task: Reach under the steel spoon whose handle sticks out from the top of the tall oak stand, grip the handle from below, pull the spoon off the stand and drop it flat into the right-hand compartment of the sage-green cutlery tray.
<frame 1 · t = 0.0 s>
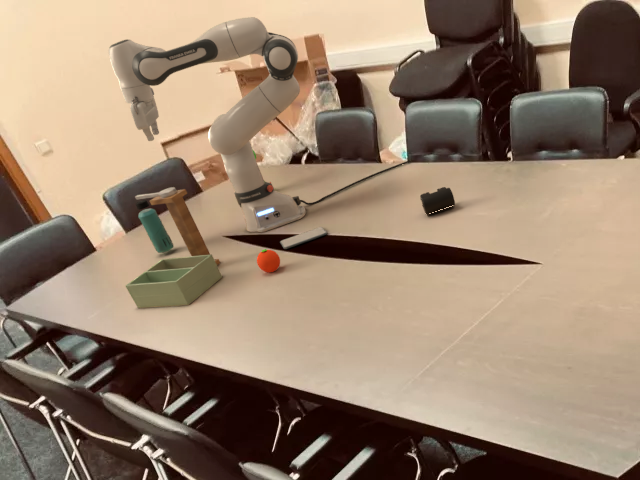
hand: (154, 137, 243), 39 cm above the table, tool pointing down, fingers open, 8 cm apart
oak stand: (203, 268, 240), on the table
smartphone: (304, 239, 241), on the table
plastic bottle: (259, 197, 299), on the table
spoon: (156, 196, 227), point 26 cm above the table, touching oak stand
beverage bottle: (167, 253, 263), on the table
cutlery tray: (180, 292, 226), on the table
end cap: (440, 211, 235), on the table
clementine: (273, 271, 224), on the table
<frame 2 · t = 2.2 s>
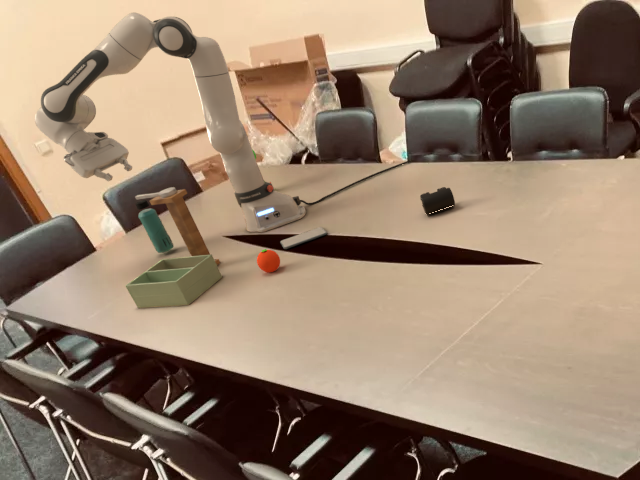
hand: (120, 174, 235), 33 cm above the table, tool tilted 40°, fingers open, 8 cm apart
nothing on the table moved.
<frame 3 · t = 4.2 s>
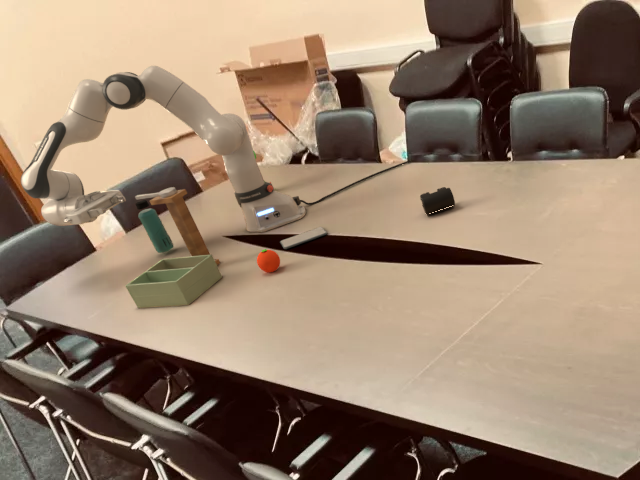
hand: (113, 204, 235), 25 cm above the table, tool horizontal, fingers open, 8 cm apart
nothing on the table moved.
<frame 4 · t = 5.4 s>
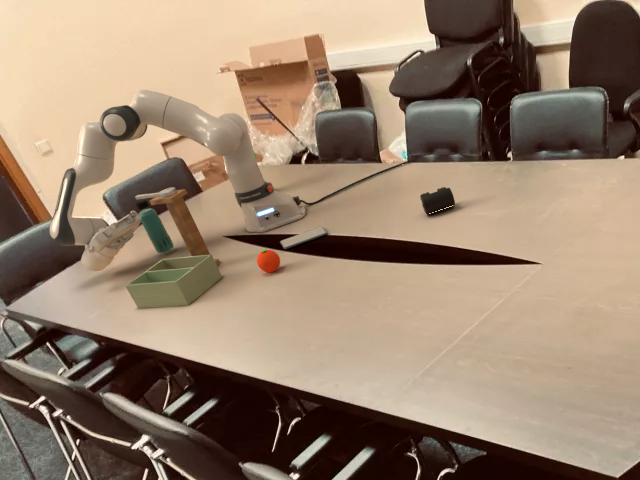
hand: (124, 218, 237), 20 cm above the table, tool pointing upward, fingers open, 8 cm apart
nothing on the table moved.
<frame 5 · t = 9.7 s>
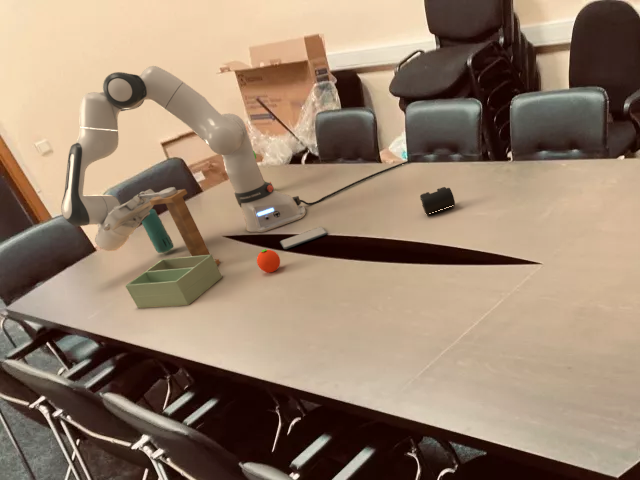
hand: (141, 195, 229), 27 cm above the table, tool pointing upward, fingers closed on spoon, 1 cm apart
spoon: (156, 196, 227), point 26 cm above the table, touching gripper, oak stand
everything else where it was.
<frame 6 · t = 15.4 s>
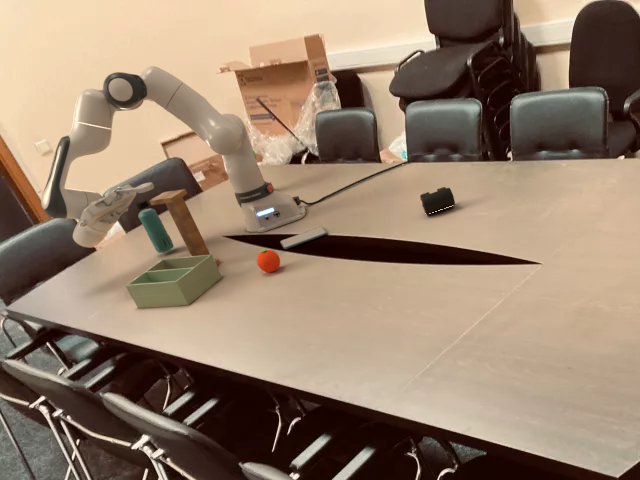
hand: (118, 190, 224), 31 cm above the table, tool pointing upward, fingers closed on spoon
spoon: (133, 191, 222), point 30 cm above the table, touching gripper
everything else where it was.
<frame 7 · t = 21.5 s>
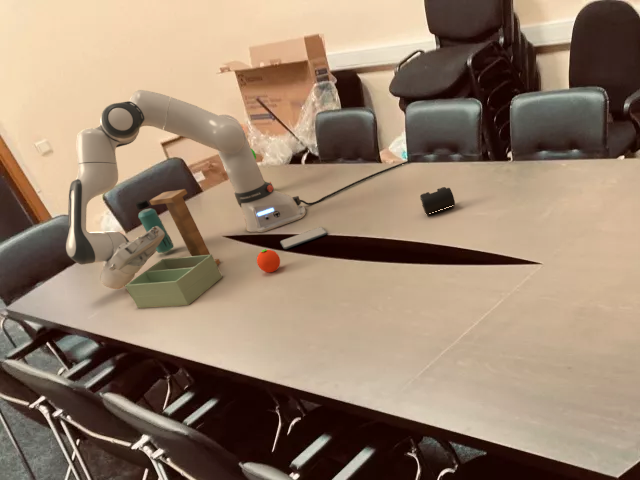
hand: (148, 234, 221), 18 cm above the table, tool pointing upward, fingers open, 6 cm apart
spoon: (182, 273, 227), point 4 cm above the table, touching cutlery tray
everything else where it was.
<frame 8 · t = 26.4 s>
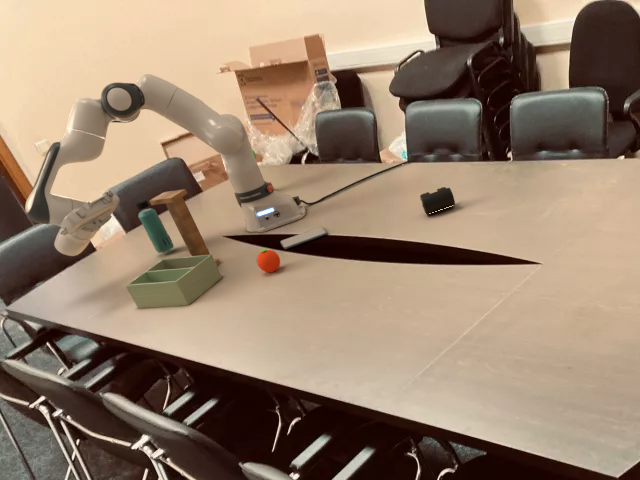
hand: (100, 198, 218), 31 cm above the table, tool pointing upward, fingers open, 8 cm apart
nothing on the table moved.
at the end: spoon 0.5 cm from the target spot on the cutlery tray, point 4.2 cm above the cutlery tray's base; spoon tilted 0°; the gripper is holding nothing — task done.
